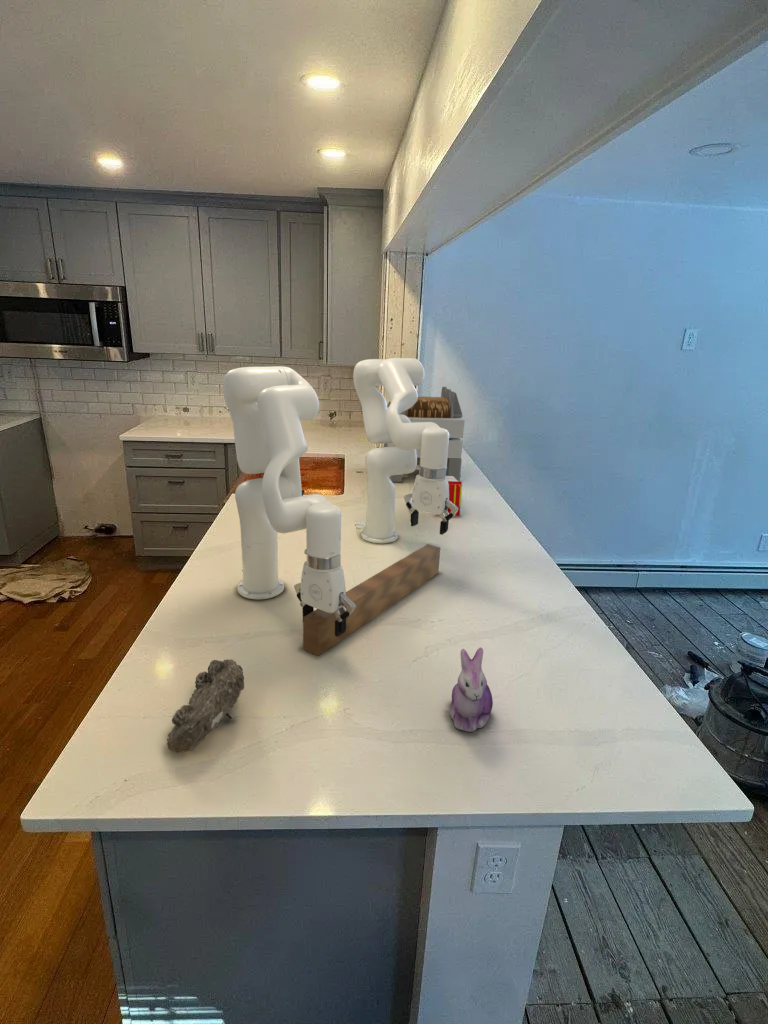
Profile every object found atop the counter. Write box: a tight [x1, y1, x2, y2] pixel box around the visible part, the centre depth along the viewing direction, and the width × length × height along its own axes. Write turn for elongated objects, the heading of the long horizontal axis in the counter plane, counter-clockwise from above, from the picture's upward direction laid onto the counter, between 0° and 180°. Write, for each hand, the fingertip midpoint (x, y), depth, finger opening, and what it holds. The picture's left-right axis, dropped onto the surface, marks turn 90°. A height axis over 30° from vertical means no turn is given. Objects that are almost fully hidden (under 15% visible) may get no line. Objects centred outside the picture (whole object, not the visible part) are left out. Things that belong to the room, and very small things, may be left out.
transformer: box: [383, 386, 465, 483], centre depth 268 cm, size 34×33×41 cm
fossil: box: [166, 658, 245, 754], centre depth 106 cm, size 22×10×15 cm
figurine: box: [449, 647, 494, 733], centre depth 108 cm, size 9×10×15 cm
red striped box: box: [446, 476, 463, 517], centre depth 230 cm, size 12×13×30 cm
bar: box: [302, 543, 441, 657], centre depth 150 cm, size 55×4×8 cm, turn 145°
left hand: (323, 627), depth 131 cm, fingers open, 9 cm apart
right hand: (428, 529), depth 164 cm, fingers open, 9 cm apart
